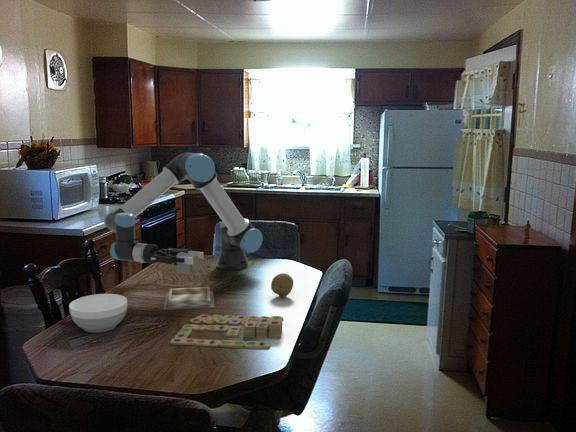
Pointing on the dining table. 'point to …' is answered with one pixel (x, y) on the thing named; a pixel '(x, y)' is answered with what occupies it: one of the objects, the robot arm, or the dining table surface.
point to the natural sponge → (282, 284)
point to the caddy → (189, 297)
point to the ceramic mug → (188, 267)
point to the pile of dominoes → (232, 331)
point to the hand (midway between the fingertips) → (197, 258)
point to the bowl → (98, 311)
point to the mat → (190, 307)
